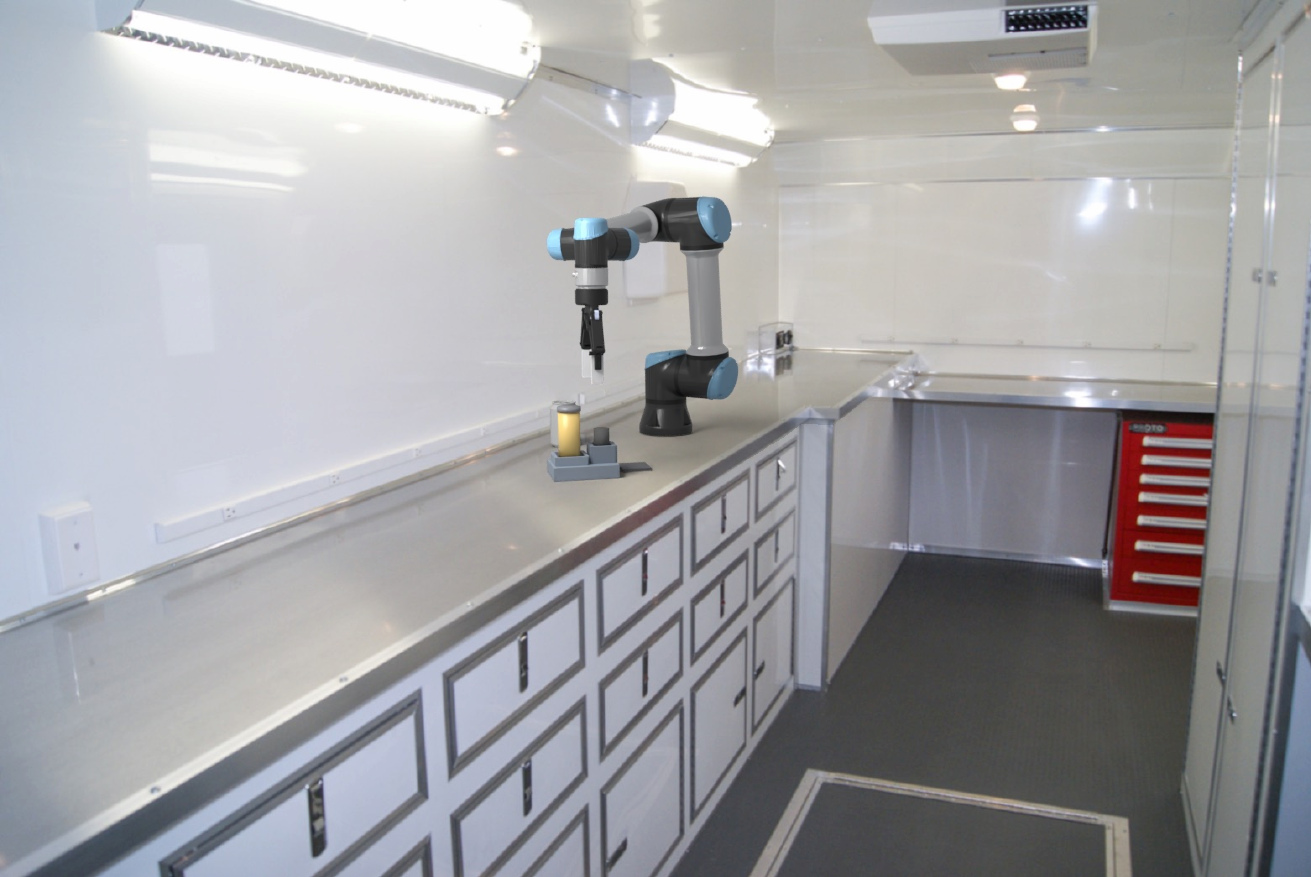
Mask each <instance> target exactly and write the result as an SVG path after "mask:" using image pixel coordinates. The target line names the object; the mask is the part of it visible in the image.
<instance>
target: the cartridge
mask: <svg viewBox="0 0 1311 877" xmlns="http://www.w3.org/2000/svg"><path fill="white" fill-rule="evenodd" d="M581 408H582V406H581V405H578V404H576V405H561V406H557V412H558V444H559V448H558V451H559V457H575V456H581Z"/></svg>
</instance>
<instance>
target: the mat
mask: <svg viewBox="0 0 1311 877" xmlns="http://www.w3.org/2000/svg"><path fill="white" fill-rule="evenodd" d="M617 463H618V462H617ZM618 464H619V467H620V471H621V473H623V472H624V473H625V472H626V473H628V472H630V473H631V472H643V471H652V470H653V467H651V465H649V464H648V463H647V462H645V461H640V462H639V461H637V462H622V463H621V462H619V463H618Z"/></svg>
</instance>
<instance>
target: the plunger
mask: <svg viewBox="0 0 1311 877" xmlns="http://www.w3.org/2000/svg"><path fill="white" fill-rule="evenodd" d="M609 441H610V428H609V427H606V426H601V427H600V426H599V427H594V428H593V442H594V446H605V445H609Z"/></svg>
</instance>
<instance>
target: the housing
mask: <svg viewBox="0 0 1311 877" xmlns="http://www.w3.org/2000/svg"><path fill="white" fill-rule="evenodd" d="M585 447H586V451H585V450H581V449H580V450H581V456H575V457H559V450H558V451H557V450H555V451H550V458H547V459H546V469H547V470H546V471H547V473H548V475H549V477H551V479H552V480H553V482H554V483H557V482H572V481H588V480H591V481H592V480H605V479H606V480H607V479H620V478H621V477H620V476H621V475H620V471H621V470H620V467H619V464H618V445H617V444H616V443H615V442H614V441H612V440H611V441H610V440H609V445H605V446H594V441H588V442H587V441H586V446H585Z"/></svg>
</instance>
